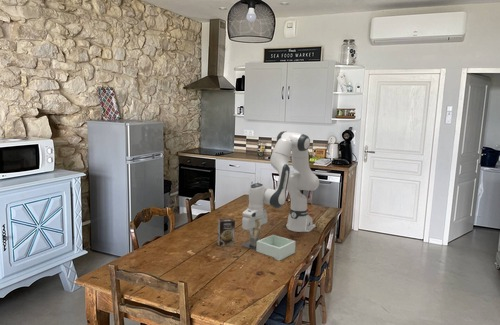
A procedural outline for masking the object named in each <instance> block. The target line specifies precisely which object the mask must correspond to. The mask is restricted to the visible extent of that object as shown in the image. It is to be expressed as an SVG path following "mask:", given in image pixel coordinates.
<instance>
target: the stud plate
mask: <svg viewBox="0 0 500 325" xmlns="http://www.w3.org/2000/svg"><path fill="white" fill-rule="evenodd" d="M240 246H242V247H246V248H248V249H250V250H251V249H252V250H253V251H256V247H254V246H251V245H249V241H245V242H244V243H242V244H240Z"/></svg>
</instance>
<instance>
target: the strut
mask: <svg viewBox="0 0 500 325" xmlns="http://www.w3.org/2000/svg"><path fill="white" fill-rule="evenodd" d="M260 222H261V219H258V220H255V227H254V228H253V230H252V231H253V232H254V234H253V235H250V234H249V236H248V237H249V240H248V242H249V245H251V246H254V247H256V246H257V241H258V240H261V239H260V238H261V228H260Z"/></svg>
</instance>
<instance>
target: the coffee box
mask: <svg viewBox="0 0 500 325" xmlns="http://www.w3.org/2000/svg"><path fill="white" fill-rule="evenodd" d="M217 222H218V224H217V245H218V247H232V246H235V230H236V229H235V228H236V227H235V226H236V220H235V219H234V218H233V217H231V218H230V217H229V218H218V220H217Z"/></svg>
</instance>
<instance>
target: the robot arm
mask: <svg viewBox="0 0 500 325" xmlns="http://www.w3.org/2000/svg"><path fill="white" fill-rule="evenodd" d="M276 136H277V137H276V143H275V145H274V147H273V150H272V153H271V155H270V158H269V163H270V164H271V167H272V168H273V169H274V170H275V171H276V172H277V173H278V181H277V187H276V188H275V189H273V188H270V187H267V186H266V185H265V186H264V185H263V183H259V182H258V183H253V184H251V185H250V187H249V191H248V201H249V202H248V206H247V208H246V209H245V210H244V211H242V219H241V228H242V229H243V230H245V231H249V236H250V235H253V234H254V232H253V231H252V230H253V228H254V227H255V220H258V219H261V222H260V229H261V228H262V226H263V225H266V224H267V222H268V213H267V209H266V208H265V207H264V204H265V205H268V206H271V207H273V208H276V209H279V208H281V207H283V205H285V203H286V199H287V197H286V196H287V192H288V194H289V196H290V208H289V214H288V217H287V223H286V224H285V227H286V228H287V230H288V231H291V232H295V233H298V232H299V233H310V232H311V231H313V230H314V229H315V228H316V224H315V223H313V218H312V217H311V216H310V215H309V213H308V212H310V211H311V209H310V208H308V198H307V197H306V195H304V194H303V193H302V192H301V191H316V190H317V189H318V188H319V186H320V180H319V177H318V176H317V175H316V174H315V173H314V172H313V171H312V169H311V168H310V162H309V148H310V145H311V139H310V138H309V136H308V135H307V134H304V133H299V132H293V131H287V130H286V131H285V130H284V131H280V132H279V133H278V135H276ZM290 157H291V166H292V168H293V169H294V170H295V171H297V173H296V172H291V170H290V168H291V167H290V165H289V161H290ZM300 190H301V191H300Z"/></svg>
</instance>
